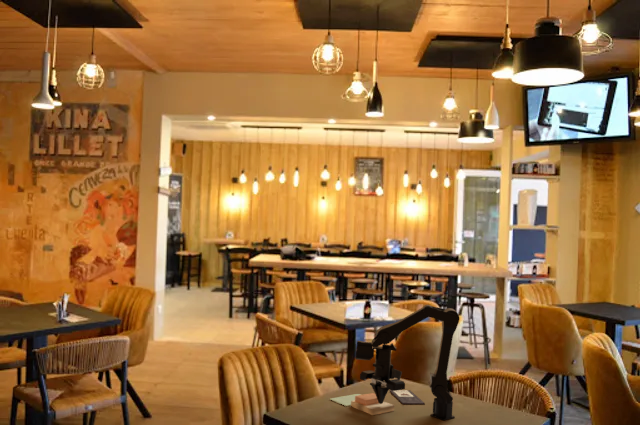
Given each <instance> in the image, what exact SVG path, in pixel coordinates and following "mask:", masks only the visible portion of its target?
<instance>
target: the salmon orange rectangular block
mask: <svg viewBox="0 0 640 425" xmlns="http://www.w3.org/2000/svg"><path fill="white" fill-rule="evenodd" d="M355 402H358V403H360V404H363V405H365V406H366V405H371V404H377V403H379V402H378V399H377V397H376V394H375V392H371V393H364V394H360V395H358V396H355Z"/></svg>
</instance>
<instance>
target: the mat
mask: <svg viewBox="0 0 640 425" xmlns="http://www.w3.org/2000/svg"><path fill="white" fill-rule="evenodd" d="M358 395H361V394H360V393H355V394H350V395H349V394H348V395H343V396H337V397H331V398H329V401H331V400H332V401H331V402H333V403H337V404H339V405H341V404H342V406H343V405H344V407H346V406H347V407H351V401H354V400H355V396H358Z"/></svg>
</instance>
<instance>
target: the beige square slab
mask: <svg viewBox="0 0 640 425" xmlns="http://www.w3.org/2000/svg"><path fill="white" fill-rule="evenodd" d="M351 406H352V408H354V409H356V410H358V411H361V412H364V413H367V414H368V415H371V416H374V415H375V416H376V415H380V414H386V413H389V412H390V413H391V412H394V411H395V404H392V403H389V402H386V401H385V400H384V401H383V403H382V404H380V403H377V404H371V405H366V406H365V405H363V404H360V403H358V402H355V400H354V401H351ZM351 406H350V407H351Z"/></svg>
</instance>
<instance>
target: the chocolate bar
mask: <svg viewBox="0 0 640 425" xmlns="http://www.w3.org/2000/svg"><path fill="white" fill-rule="evenodd" d="M389 391H390V392H391V393H390V392H389V393H390V394H391V395H393V397H394V398H396V400H398V402H400V404H401V405H405V406H407V405H410V406H411V405H412V406H414V405H419V406H420V405H421V406H422V405H425V404H426V403H425V402H424V401H423V399H421V398H420V397H418V396H417V395H416V394H415V393H414V392H413V391H412V390H411V389H410V390H408V389H407V390H406V389H402V390H397V391H392V390H389Z"/></svg>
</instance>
